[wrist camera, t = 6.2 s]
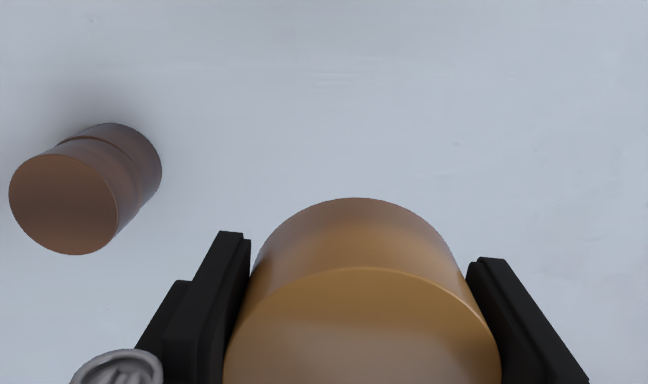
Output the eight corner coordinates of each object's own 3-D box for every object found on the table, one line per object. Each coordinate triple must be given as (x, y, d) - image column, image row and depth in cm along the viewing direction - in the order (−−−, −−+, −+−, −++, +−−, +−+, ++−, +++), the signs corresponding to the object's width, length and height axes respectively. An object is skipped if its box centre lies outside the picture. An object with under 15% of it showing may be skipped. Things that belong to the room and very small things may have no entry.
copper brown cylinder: (255, 185, 10) (224, 252, 7) (479, 208, 11) (536, 284, 8) (246, 365, 12) (218, 476, 9) (436, 383, 12) (469, 499, 9)
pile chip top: (40, 132, 25) (-1, 147, 22) (142, 143, 25) (115, 161, 22) (51, 223, 27) (15, 249, 24) (145, 234, 27) (121, 261, 24)
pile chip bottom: (70, 117, 28) (38, 130, 25) (161, 128, 28) (140, 141, 25) (78, 201, 30) (49, 221, 27) (162, 211, 30) (143, 232, 27)
